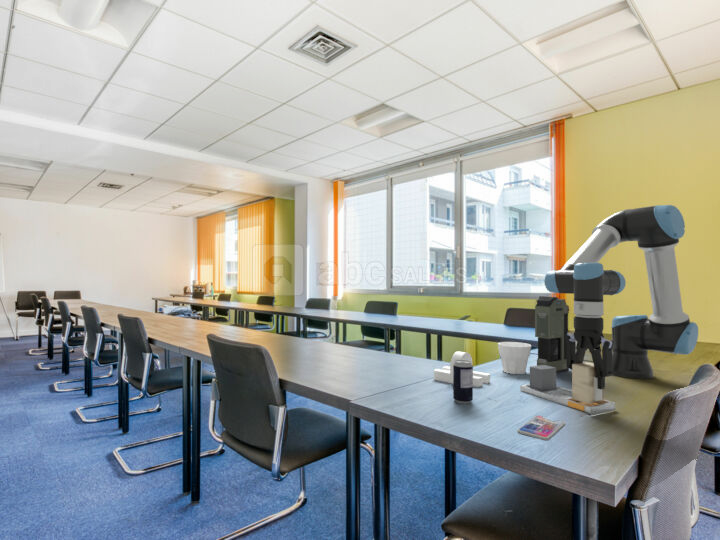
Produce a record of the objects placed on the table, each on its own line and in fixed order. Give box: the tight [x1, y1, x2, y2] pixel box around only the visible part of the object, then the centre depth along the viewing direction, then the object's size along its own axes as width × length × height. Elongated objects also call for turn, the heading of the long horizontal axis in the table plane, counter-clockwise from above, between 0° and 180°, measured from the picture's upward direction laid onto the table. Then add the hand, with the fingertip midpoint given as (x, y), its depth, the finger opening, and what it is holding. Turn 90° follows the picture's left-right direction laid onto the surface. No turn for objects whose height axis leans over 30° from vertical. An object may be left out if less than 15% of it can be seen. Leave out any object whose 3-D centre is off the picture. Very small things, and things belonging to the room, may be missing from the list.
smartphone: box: [517, 415, 566, 441], centre depth 101 cm, size 7×1×15 cm
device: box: [534, 295, 570, 375], centre depth 163 cm, size 14×8×30 cm, turn 124°
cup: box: [497, 341, 532, 375], centre depth 161 cm, size 12×12×11 cm
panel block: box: [571, 361, 606, 404], centre depth 116 cm, size 7×5×10 cm
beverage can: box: [452, 360, 474, 405], centre depth 122 cm, size 6×6×12 cm
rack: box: [519, 383, 616, 416], centre depth 123 cm, size 11×24×2 cm, turn 26°
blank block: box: [529, 365, 557, 391], centre depth 131 cm, size 7×5×8 cm
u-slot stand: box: [433, 350, 491, 388], centre depth 146 cm, size 10×18×11 cm, turn 47°
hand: (588, 397), depth 116 cm, fingers closed on panel block, 5 cm apart
